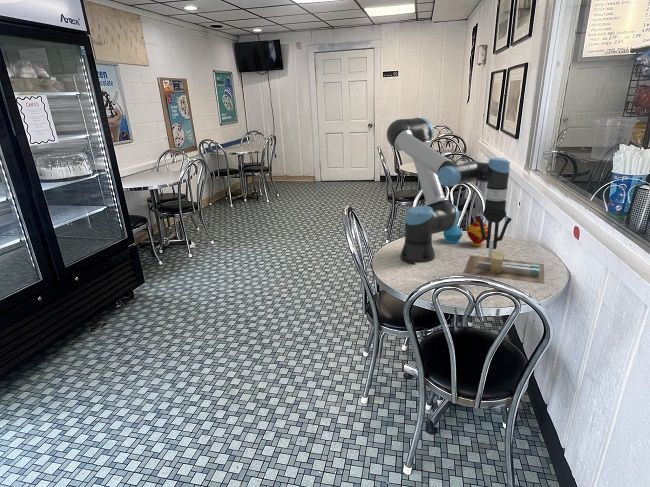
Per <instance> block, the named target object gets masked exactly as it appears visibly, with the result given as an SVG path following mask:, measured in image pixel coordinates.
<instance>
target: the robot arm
mask: <svg viewBox="0 0 650 487" xmlns="http://www.w3.org/2000/svg"><path fill="white" fill-rule="evenodd" d="M434 132H435V131H434V127H433V124H432V123H431V122H430V120H428V119H426V118H424V117H423V118H422V117H414V118H402V119H396V120H394V121H392V122H391V123H390V124H389V125H388V127H387V130H386V140H387V142H388V144H389V145H390V146H391V147H392V148H393V149H395V150H396V151H398V152H403V153H405V154H406V155H407V156H409V157H410V158H412V160H413V164H414V166H415V171H416V174H417V177H418V180H419V183H420V187H421V190H422V193H423V197H424V201H425V203H424V205H417V206H412V207H410V208H408V209H407V211H406V213H405V218H404V222H405V223H404V224H405V226H404V244H403V246H402V249H401V252H400V260H401V261H402V262H404V263H407V264H410V265H416V263H417V264H418V263H429V262H431V261H433V260H434V259H435V258H436V254H435V250H434V247H433V244H432V242H433V241H432V239H433V238H432V237H433V235H434V234H438V233H442V232H444V231H447V230H449V229H452V228H454V227H455V226H456V225H458V223H459V220H460V211H459V209H458V207H457V206H456V205H454V204H453V203H451V202H450V199H449V198H448V197H446V196H445V193H444V190H443V187H442V186H444V187H453V186H458V185H462V184H467V183H468V184H469V183H473V182H479V183H480V182H481V183H486V187H485V188H486V189H485V198H486V199H485V200H484V209H483V212H482V213H479V214H480V215H478V216H477V219H478V221H479V224H480V229H481V235H482V239H485V240H484V241H486V244H485V248H486V249H488V256H487V257H489V258H492V255H493V252H494V250H496V249H497V247H498V246H497V245H498V242H499V241H500V242H501V241H502V240H503V238H504V235H505V233H506V230H507V227H508V226H509V224H510V223H511V221H512V220H513V217H512V216H509V215H508V214H507V211H506V208H507V206H506V205H507V200H506V199H508V198H507V196H508V188H509V186H508V184H509V176H510V171H511V170H510V165H511V161H510V159H508V158H505V157H504V158H503V157H493V158H489V160H488V162H480V161H474V160H472V161H464V162H463V163H461V164H457V163H455V162H453V161H452V160H450V159H449V158H448V157H446V156H445V155H443V154H441V153H439V152H438V151H436V150H435V149H434V148H432V147H431V145H432V139H433V138H434ZM483 216H484V217H483ZM483 218H484V219H485V220H486V221H487V222H488V223H487V226H488V231H487V236H486V233H485V228H484V224H485V222H484V220H483ZM503 219H504V224H503V227H502V228H501V232H500V235H499V227H500V223H501V222H502V221H503ZM493 223H494V233H493V239H492V229H493V228H492V226H493ZM434 261H435V260H434Z"/></svg>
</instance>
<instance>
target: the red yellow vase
mask: <svg viewBox="0 0 650 487" xmlns="http://www.w3.org/2000/svg"><path fill="white" fill-rule="evenodd" d="M480 214H481V213H476V214H474V220H475V221H474V222H472V223H470V224H469V225H468V227H467V230H466V233H467V236H468V238H469V239H470V241H471V245H472V246H474V247H482V246H483V242H484V241H486V240H485V239H482V235H481V229H480V224H479V221H478V219H477V216H478V215H480ZM483 217H484V216H483ZM484 220H485V217H484V218H483V221H484ZM484 228H485V233H486V236H487V231H488V224H486V223H484Z"/></svg>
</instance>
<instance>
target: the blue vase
mask: <svg viewBox="0 0 650 487" xmlns="http://www.w3.org/2000/svg"><path fill="white" fill-rule="evenodd" d="M442 232H443V233H442V234H443V237H444V239H445V242H446V243H448V244H459V243H460V240H461V238H462V237H463V231H462V230H461V228H460V227H459V225H458V224H457V225H456V226H455V227H454V228H452V229H449V230H447V231H442Z"/></svg>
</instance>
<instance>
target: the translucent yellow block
mask: <svg viewBox="0 0 650 487" xmlns="http://www.w3.org/2000/svg"><path fill="white" fill-rule="evenodd" d="M504 256H505V251H498V250H497V251H496V250H493V255H492V257H491V258H492V259H491V269H490V272H493V273H500V274H501V270H502V261H503V259H504Z"/></svg>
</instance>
